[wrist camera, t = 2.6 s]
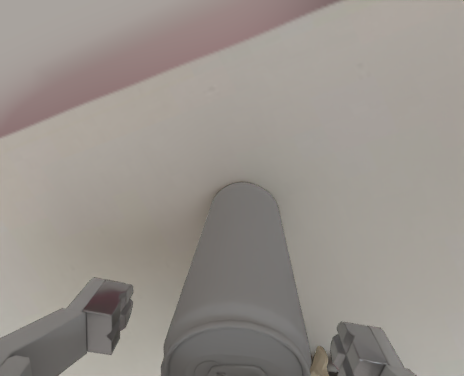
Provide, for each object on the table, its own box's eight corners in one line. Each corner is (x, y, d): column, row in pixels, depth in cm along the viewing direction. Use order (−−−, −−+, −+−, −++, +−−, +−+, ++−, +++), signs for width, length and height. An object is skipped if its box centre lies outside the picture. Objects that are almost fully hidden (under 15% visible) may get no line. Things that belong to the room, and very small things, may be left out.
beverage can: (207, 180, 19) (142, 321, 7) (278, 177, 18) (320, 321, 7) (214, 240, 20) (168, 429, 9) (278, 238, 20) (314, 435, 9)
